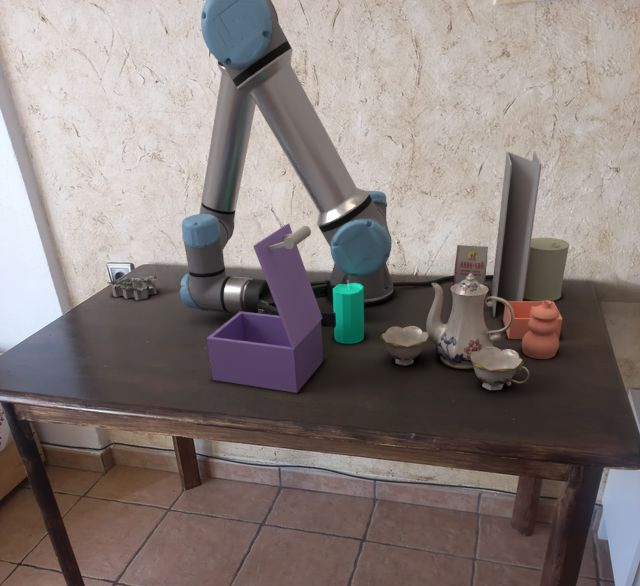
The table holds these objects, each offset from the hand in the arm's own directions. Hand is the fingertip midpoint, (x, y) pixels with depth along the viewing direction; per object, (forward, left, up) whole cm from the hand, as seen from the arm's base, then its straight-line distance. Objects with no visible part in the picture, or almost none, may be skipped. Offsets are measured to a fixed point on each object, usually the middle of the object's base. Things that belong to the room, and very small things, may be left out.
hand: (347, 306), depth 121 cm
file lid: (+13, +12, +10) cm, 21 cm away
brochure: (-37, -5, -7) cm, 38 cm away
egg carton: (+43, -42, -7) cm, 60 cm away
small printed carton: (-34, -17, -7) cm, 39 cm away
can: (-47, -8, -7) cm, 48 cm away
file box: (+18, +9, -6) cm, 21 cm away
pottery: (-34, +13, -7) cm, 37 cm away
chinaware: (-15, +18, -7) cm, 25 cm away
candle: (0, 0, -7) cm, 7 cm away
